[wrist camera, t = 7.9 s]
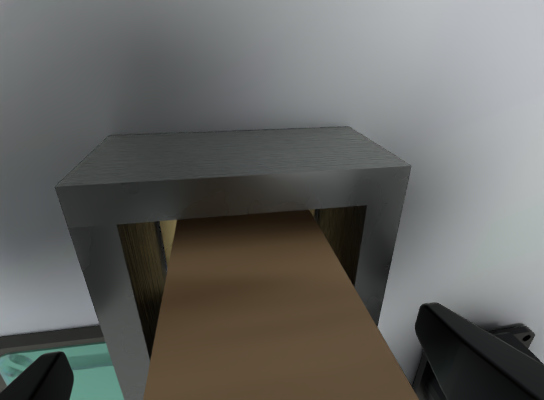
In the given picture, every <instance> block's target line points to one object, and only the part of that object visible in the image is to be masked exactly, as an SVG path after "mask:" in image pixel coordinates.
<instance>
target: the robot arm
mask: <svg viewBox="0 0 544 400" xmlns="http://www.w3.org/2000/svg"><path fill="white" fill-rule="evenodd" d="M415 331H416V335H417V337H418V339H419V341H420V343H421V346H422V348H423V350H424V352H423V356H422V359H421V362H420V365H419V368H418V371H417V375H416V378H415V381H414V384H413V387H412V388H413V390H414V392H415V393H416V395H417V397H418V399H419V400H544V364H543V363H542V362H541V361H540V360H539V359H538V358H537V357H536V356H535V355H534V354H533V353H532V352H531V351H530V350H529V349H528V348H529V346H530V344H531V342H532V340H533V338H534V336H535V334H534V332H533V331H532V330H530V329H529V328H528V327H527V326H522V327H515V328H509V329H502V330H495V331H489V332H487V331H485V330H483V329H482V328H480V327H478V326H476V325H475V324H473V323H471V322H470V321H468V320H466V319H464V318H463V317H461V316H459V315H458V314H456V313H454V312H453V311H451V310H449V309H447V308H446V307H444V306H442V305H441V304H439V303H435V302H434V303H426V304H422V305H421V306H420V309H419V312H418V316H417V319H416V323H415ZM73 384H74V374H73V371H72V369H71V366H70V364H69V361H68V359H67V357H66V355H65V353H64V352H62V351H57V352H50V353H44V354H42V355H41V356H39V357H38V358H37V359H36V360H35V361H34V362H33V363H32V364H31V365H29V366H28V367H27V368H26V369H25V370H24V371H23V372H22V373H21V374H20V375H19V376H17V377H16V378H15V379H14V380H13V381H12V382H11V383H10V384H9V385H8V386H7V387H6V388H4V389H3V390H2V391H1V392H0V400H70V397H71V392H72V388H73Z"/></svg>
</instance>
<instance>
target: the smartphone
mask: <svg viewBox="0 0 544 400" xmlns="http://www.w3.org/2000/svg"><path fill="white" fill-rule="evenodd" d="M57 351H62V352H64V353H65V355H66V357H67V359H68V361H69V364H70V366H71V369H72V371H73V374H74V384H73V388H72V392H71V397H70V400H124V398H123V394H122V391H121V388H120V385H119V382H118V379H117V376H116V373H115V370H114V367H113V364H112V361H111V358H110V355H109V352H108V348H107V345H106V342H105V339H104V336H103V333H102V330H101V327H100V325H99V326H90V327H82V328H73V329H64V330H56V331H47V332H38V333H30V334H21V335H12V336H3V337H0V392H1V391H2V390H3V389H4V388H6V387H7V386H8V385H9V384H10V383H11V382H12V381H13V380H14V379H15V378H16V377H17V376H19V375H20V374H21V373H22V372H23V371H24V370H25V369H26V368H27V367H28V366H29V365H31V364H32V363H33V362H34V361H35V360H36V359H37V358H38V357H39V356H41V355H42V354H44V353H50V352H57Z"/></svg>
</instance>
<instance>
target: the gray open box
mask: <svg viewBox="0 0 544 400" xmlns="http://www.w3.org/2000/svg"><path fill="white" fill-rule="evenodd" d="M410 170H411V165H409V164H408V163H406V162H405V161H403V160H401V159H400V158H398V157H397V156H395V155H393V154H392V153H390V152H389V151H387V150H386V149H384V148H382V147H381V146H379V145H378V144H376V143H374V142H373V141H371V140H370V139H368V138H367V137H365V136H363V135H362V134H360V133H359V132H357V131H355V130H354V129H352V128H351V127H325V128H298V129H271V130H245V131H218V132H191V133H164V134H137V135H111V136H108V137H107V138H106V139H105V140H104V141H103V142H102V143H101V144H100V145H99V146H98V147H96V148H95V149H94V150H93V151H92V152H91V153H90V154H89V155H88V156H87V157H86V158H85V159H84V160H83V161H82V162H81V163H79V164H78V165H77V166H76V167H75V168H74V169H73V170H72V171H71V172H70V173H69V174H68V175H67V176H66V177H65V178H64V179H63V180H61V181H60V182H59V183H58V184H57V185H56V186H55V189H56V192H57V195H58V198H59V201H60V204H61V207H62V210H63V213H64V217H65V220H66V223H67V226H68V229H69V232H70V235H71V238H72V241H73V244H74V247H75V250H76V253H77V256H78V259H79V263H80V266H81V269H82V272H83V275H84V278H85V281H86V284H87V287H88V290H89V293H90V296H91V299H92V302H93V306H94V309H95V312H96V315H97V318H98V321H99V324H100V327H101V330H102V333H103V336H104V339H105V342H106V345H107V348H108V352H109V355H110V358H111V361H112V364H113V367H114V370H115V373H116V376H117V379H118V382H119V385H120V388H121V391H122V394H123V398H124V400H143V397H144V392H145V387H146V381H147V376H148V371H149V365H150V360H151V355H152V350H153V344H154V339H155V334H156V328H157V323H158V318H159V313H160V307H161V302H162V297H163V291H164V286H165V281H166V276H167V270H166V265H165V259H164V253H163V248H162V242H161V237H160V231H159V225H158V221H159V222H160V228H161V233H162V239H163V245H164V250H165V256H166V262H167V268H168V265H169V260H170V254H171V249H172V244H173V239H174V233H175V228H176V223H177V220H181V219H194V218H207V217H220V216H233V215H246V214H259V213H272V212H285V211H298V210H310V212H311V213H312V215H313V217H314V218H315V220H316V222H317V224H318V225H319V227H320V229H321V231H322V232H323V234H324V236H325V238H326V239H327V241H328V243H329V244H330V246H331V248H332V250H333V251H334V253H335V255H336V257H337V258H338V260H339V262H340V264H341V265H342V267H343V269H344V270H345V272H346V274H347V276H348V277H349V279H350V281H351V283H352V284H353V286H354V288H355V290H356V291H357V293H358V295H359V296H360V298H361V300H362V302H363V303H364V305H365V307H366V309H367V310H368V312H369V314H370V316H371V317H372V319H373V321H374V322H375V324H376V326H378V321H379V317H380V312H381V307H382V302H383V298H384V293H385V288H386V283H387V279H388V274H389V269H390V265H391V260H392V255H393V250H394V246H395V241H396V236H397V231H398V227H399V222H400V217H401V213H402V208H403V203H404V198H405V194H406V189H407V184H408V180H409V175H410ZM315 209H316V215H315Z"/></svg>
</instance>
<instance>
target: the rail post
mask: <svg viewBox="0 0 544 400" xmlns="http://www.w3.org/2000/svg"><path fill="white" fill-rule="evenodd" d="M143 400H419V399H418V397H417V395H416V393H415V392H414V390H413V388H412V387H411V385H410V383H409V381H408V380H407V378H406V376H405V374H404V373H403V371H402V369H401V367H400V366H399V364H398V362H397V361H396V359H395V357H394V355H393V354H392V352H391V350H390V348H389V347H388V345H387V343H386V342H385V340H384V338H383V336H382V335H381V333H380V331H379V329H378V328H377V326H376V324H375V322H374V321H373V319H372V317H371V316H370V314H369V312H368V310H367V309H366V307H365V305H364V303H363V302H362V300H361V298H360V296H359V295H358V293H357V291H356V290H355V288H354V286H353V284H352V283H351V281H350V279H349V277H348V276H347V274H346V272H345V270H344V269H343V267H342V265H341V264H340V262H339V260H338V258H337V257H336V255H335V253H334V251H333V250H332V248H331V246H330V244H329V243H328V241H327V239H326V238H325V236H324V234H323V232H322V231H321V229H320V227H319V225H318V224H317V222H316V220H315V219H314V217H313V215H312V213H311V212H310V210H298V211H285V212H272V213H259V214H246V215H233V216H220V217H207V218H194V219H181V220H177V223H176V228H175V233H174V239H173V244H172V249H171V254H170V260H169V265H168V270H167V276H166V281H165V286H164V291H163V297H162V302H161V307H160V313H159V318H158V323H157V328H156V334H155V339H154V344H153V350H152V355H151V360H150V365H149V371H148V376H147V381H146V387H145V392H144V397H143Z"/></svg>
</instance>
